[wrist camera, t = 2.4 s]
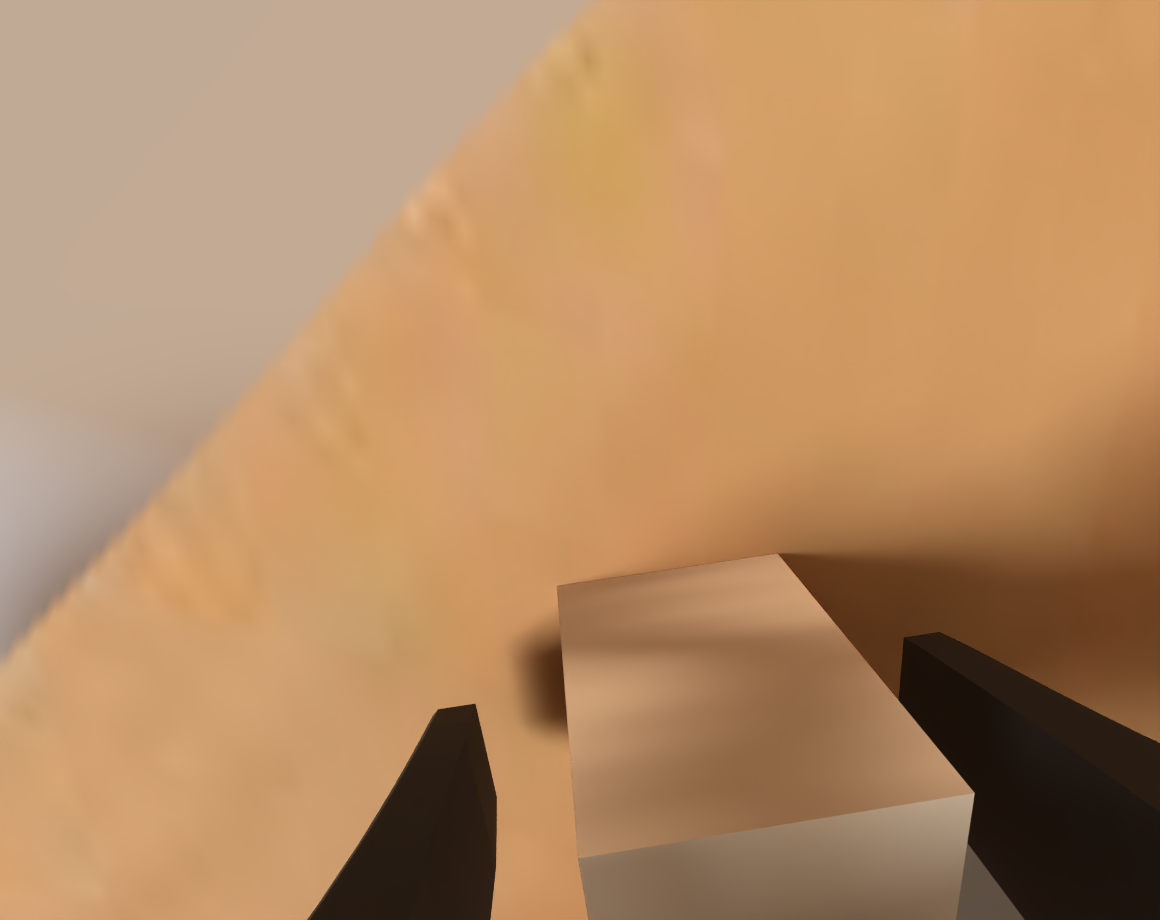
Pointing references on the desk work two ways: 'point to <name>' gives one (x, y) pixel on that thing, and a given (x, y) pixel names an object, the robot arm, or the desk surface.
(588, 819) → the block
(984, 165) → the desk surface
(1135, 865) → the robot arm
